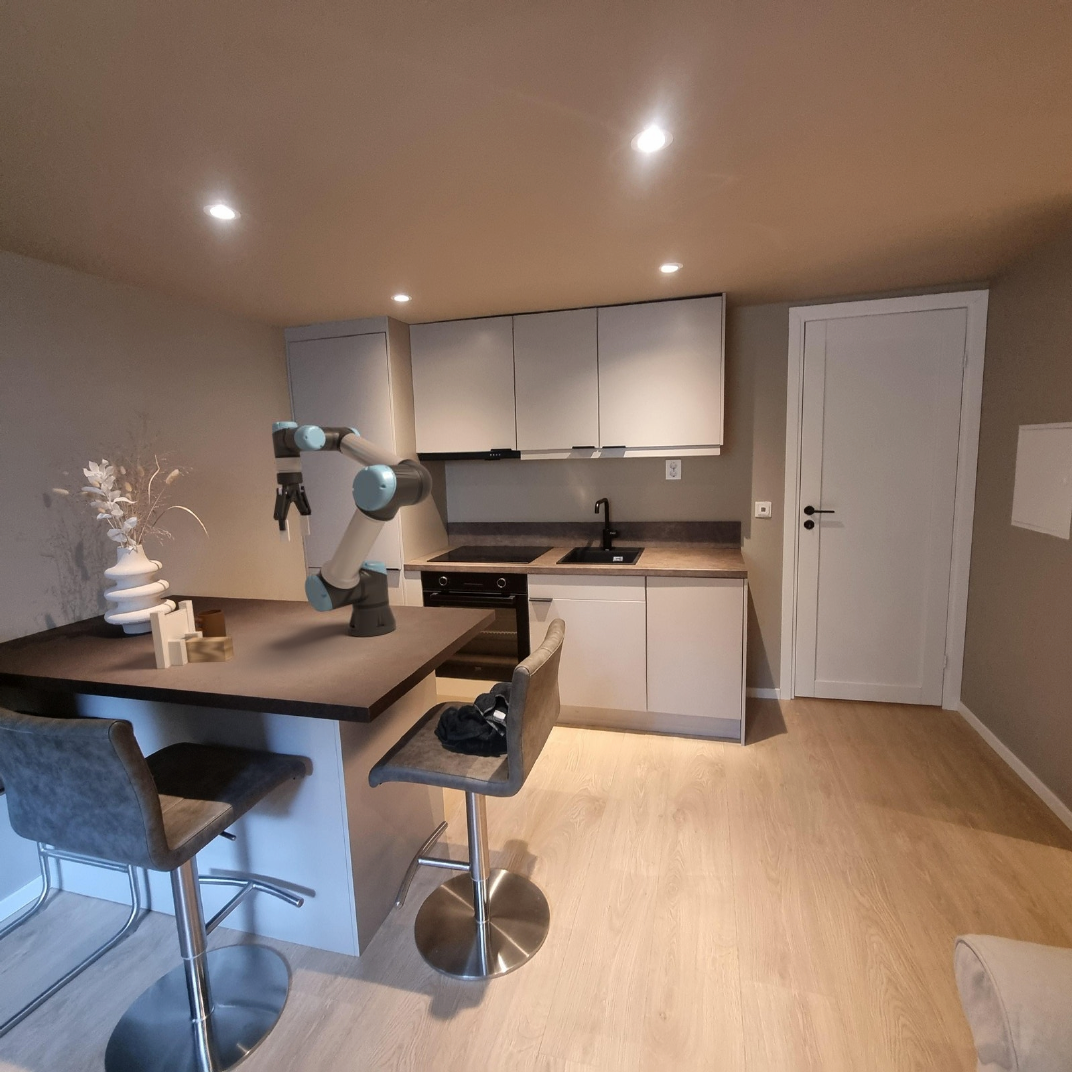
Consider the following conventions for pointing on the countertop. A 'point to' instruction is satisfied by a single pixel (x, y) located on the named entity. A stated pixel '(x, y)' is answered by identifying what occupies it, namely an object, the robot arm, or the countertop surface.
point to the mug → (211, 623)
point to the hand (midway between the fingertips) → (295, 538)
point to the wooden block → (209, 649)
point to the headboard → (173, 634)
